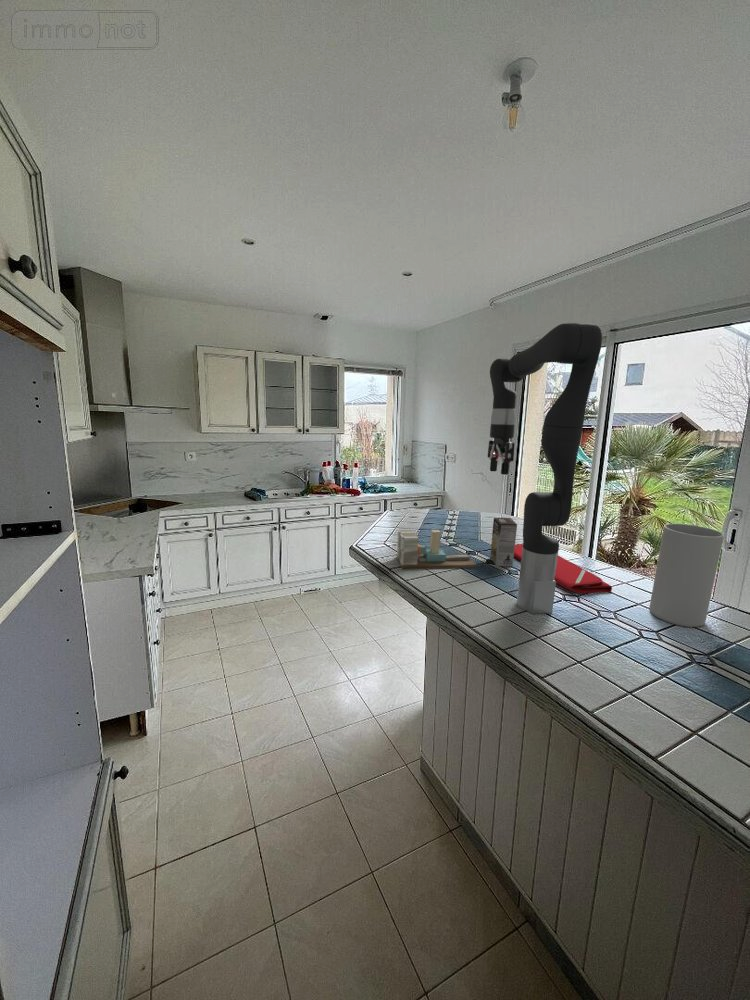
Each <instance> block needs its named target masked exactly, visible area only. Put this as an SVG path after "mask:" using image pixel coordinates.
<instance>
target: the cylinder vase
mask: <svg viewBox="0 0 750 1000" xmlns="http://www.w3.org/2000/svg"><path fill="white" fill-rule="evenodd" d="M724 538H725V534H724V533H723V532H721V531H719V530H716V529H713V528H709V527H705V526H699V525H694V524H686V523H685V524H684V523H666V524H664V525H663V530H662V536H661V541H660V546H659V552H658V557H657V558H658V559H657V563H656V570H655V574H654V579H653V585H652V590H651V596H650V601H649V602H650V603H649V611H650V613H651V614H652V615H654V616H655V617H656V618H658V619H659V620H661V621H664V622H666V623H670V624H673V625H676V626H680V627H685V628H686V627H687V628H699V627H702V626H704V625H705V624H706V622H707V621H706V620H707V616H708V611H709V606H710V602H711V597H712V593H713V588H714V583H715V580H716V574H717V570H718V564H719V560H720V555H721V551H722V547H723V542H724Z"/></svg>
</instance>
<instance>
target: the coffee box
mask: <svg viewBox="0 0 750 1000" xmlns="http://www.w3.org/2000/svg"><path fill="white" fill-rule="evenodd" d="M517 529H518V524H517V523H516V522H515V521H514V520H513V519H512V518H511V517H493V524H492V535H491V536H492V537H491V544H490V545H491V548H490V559H491V560H492V562H493V563H494V565H495V566H497V567H513V566H514V558H515V557H514V549H515V545H516V538H517Z"/></svg>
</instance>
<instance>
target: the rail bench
mask: <svg viewBox="0 0 750 1000" xmlns="http://www.w3.org/2000/svg"><path fill="white" fill-rule="evenodd" d="M418 544H419V536H418V535H417V534H416V533H415V531H414V530H397V552H396V559H397V561H398V563H399V565H400V567H401V569H402V570H425V569H426V570H428V569H429V570H430V569H438V570H439V569H471V568H473V569H474V568H478V567H477V566H478V565H477V563H476V562H475V561H474V560H473V559H471V557H470V556H469V555H468V554H466V553H445V554H446V559H445V561H435V562H426V557H425V556H423V554H421V555H418Z"/></svg>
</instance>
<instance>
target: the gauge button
mask: <svg viewBox="0 0 750 1000" xmlns="http://www.w3.org/2000/svg"><path fill="white" fill-rule="evenodd" d="M420 545H421V544H420V543H418V555H421V546H420Z"/></svg>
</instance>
